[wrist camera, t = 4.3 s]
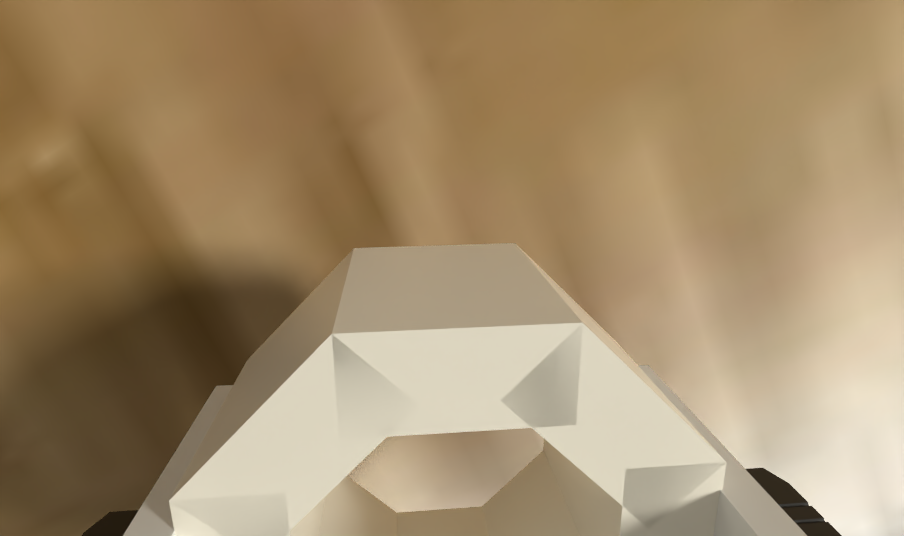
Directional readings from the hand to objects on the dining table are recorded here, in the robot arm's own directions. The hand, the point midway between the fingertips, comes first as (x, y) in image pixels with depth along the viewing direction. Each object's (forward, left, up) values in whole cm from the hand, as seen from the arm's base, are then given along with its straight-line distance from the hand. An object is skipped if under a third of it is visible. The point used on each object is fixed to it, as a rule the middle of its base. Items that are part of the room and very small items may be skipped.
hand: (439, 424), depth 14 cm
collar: (0, 0, 0) cm, 0 cm away
